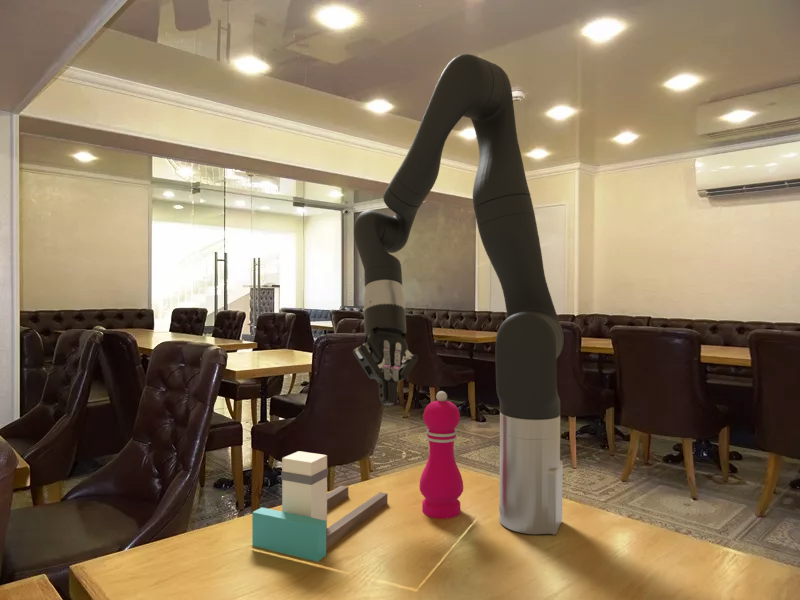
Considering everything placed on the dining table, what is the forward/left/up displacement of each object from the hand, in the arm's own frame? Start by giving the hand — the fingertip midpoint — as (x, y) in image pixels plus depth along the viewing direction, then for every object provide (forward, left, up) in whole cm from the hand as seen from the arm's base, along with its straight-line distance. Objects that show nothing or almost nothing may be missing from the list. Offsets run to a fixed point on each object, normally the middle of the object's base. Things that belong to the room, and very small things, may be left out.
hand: (388, 404), depth 95 cm
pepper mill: (-9, -1, -17) cm, 20 cm away
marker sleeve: (+5, +18, -17) cm, 25 cm away
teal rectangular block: (+5, +22, -17) cm, 28 cm away
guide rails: (+5, +11, -17) cm, 21 cm away
